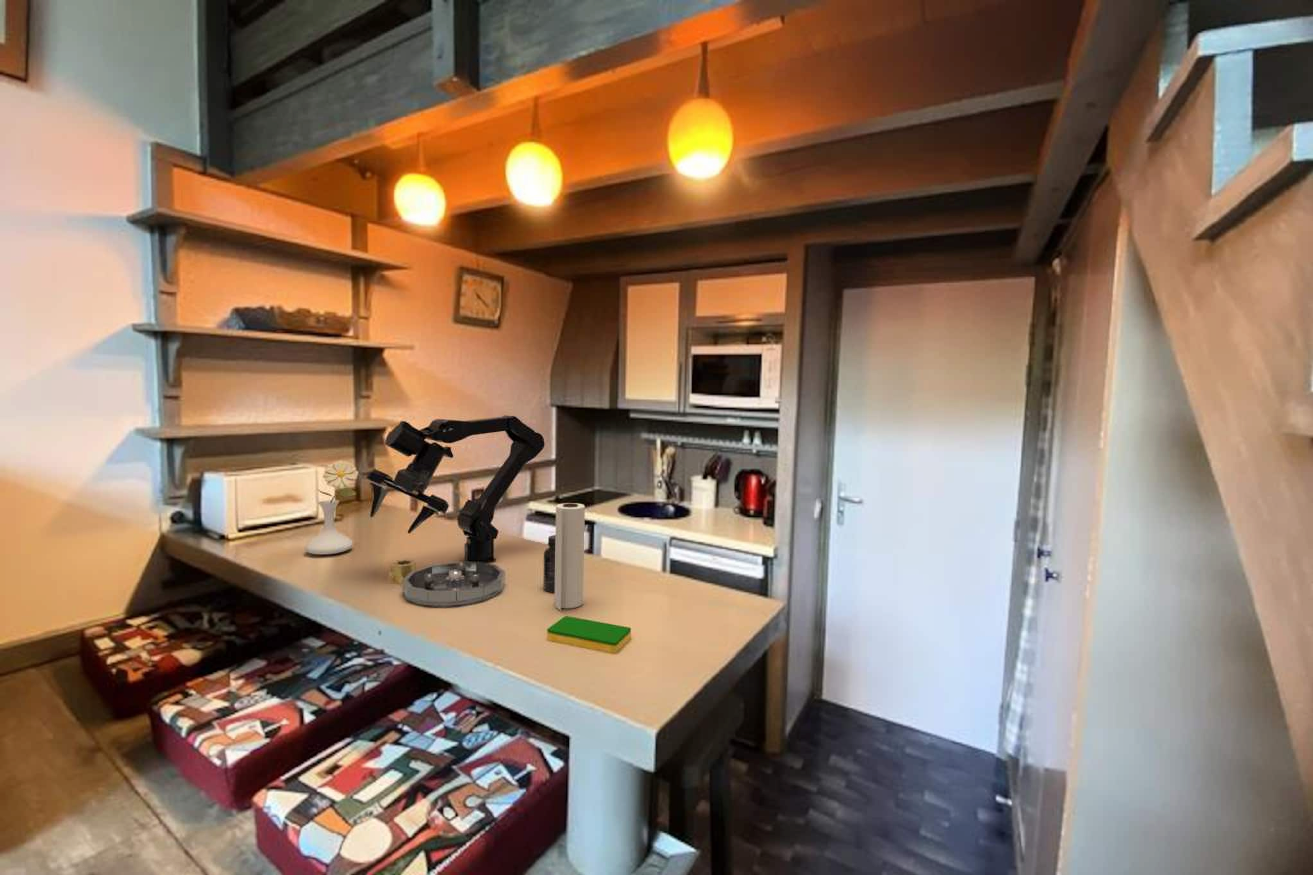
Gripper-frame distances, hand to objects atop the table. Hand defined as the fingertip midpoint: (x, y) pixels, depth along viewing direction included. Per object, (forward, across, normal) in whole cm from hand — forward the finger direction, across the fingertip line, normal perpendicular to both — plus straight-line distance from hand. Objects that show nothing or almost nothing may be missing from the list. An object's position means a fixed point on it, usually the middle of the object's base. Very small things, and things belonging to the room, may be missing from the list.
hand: (389, 525), depth 130 cm
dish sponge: (+5, +50, -32) cm, 59 cm away
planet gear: (+10, +8, +4) cm, 13 cm away
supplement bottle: (-2, +42, -6) cm, 42 cm away
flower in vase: (+12, -17, +28) cm, 35 cm away
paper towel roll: (+1, +44, -16) cm, 47 cm away
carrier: (+7, +21, -4) cm, 22 cm away
